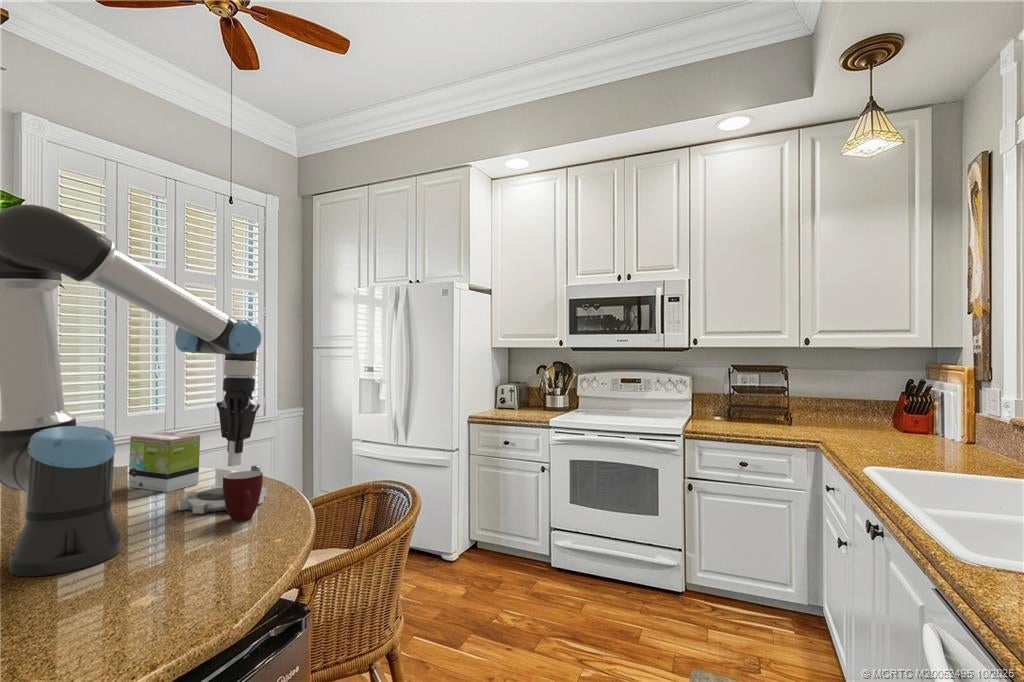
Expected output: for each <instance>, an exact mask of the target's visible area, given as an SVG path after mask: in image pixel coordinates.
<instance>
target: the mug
mask: <svg viewBox="0 0 1024 682" xmlns="http://www.w3.org/2000/svg"><path fill="white" fill-rule="evenodd" d="M263 477H264V474H263V472H262V471H260V472H259V471H251V470H244V471H235V472H230V473H226V474H225V475H223V478H222V486H223V494H224V500H225V506H226V510H227V511H226V510H225V511H226V512H227V514H228V516H229V517H230V519H231V520H232V521H233V522H242V521H243V522H244V521H248V520H250V519H252V517H253V515H254V514H255V512H256V510H257V508H258V507H259V504H260V503H259V499H260V494H261V489H262V487H263V483H264V479H263ZM258 503H259V504H258Z"/></svg>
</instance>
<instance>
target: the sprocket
mask: <svg viewBox="0 0 1024 682" xmlns="http://www.w3.org/2000/svg"><path fill="white" fill-rule="evenodd" d="M250 471H259V472H261V465H251V466H250ZM267 494H268V488H267V487H265V486H262V489H261V494H260V499H259V503H258V505H260V504H261V503H263V502H265V497H267ZM177 502H178V504H177V505H178V506H177V507H178V510H179V511H185V510H189V511H192V514H202V515H203V514H205V513H208V512H221V511H226V512H227V510H226V506H225V500H224V494H223V485H216V486H212V487H210V488H207V489H203V490H199V491H190V492H187V493H185V494H184V498H182V499H180V498H179V499H178V500H177Z"/></svg>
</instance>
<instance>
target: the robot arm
mask: <svg viewBox="0 0 1024 682" xmlns="http://www.w3.org/2000/svg"><path fill="white" fill-rule="evenodd" d="M62 275H64V276H66V277H69V278H70V279H72V280H74V281H76V282H78V283H83V282H90V283H93V284H94V285H96V286H98V287H100V288H103V289H104V290H106V291H108V292H110V293H112V294H114V295H115V296H117V297H120V298H122V299H123V300H126V301H127V302H130V303H131V304H133V305H135V306H137V307H139V308H141V309H142V310H145V311H147V312H149V313H151V314H153V315H155V316H157V317H159V318H160V319H163V320H164V321H166V322H169V323H171V324H172V325H175V326H176V327H177V329H176V331H175V336H174V337H175V338H174V341H175V345H176V348H177V349H178V350H179V351H180V352H183V353H191V354H213V355H215V354H216V355H224V365H223V368H224V369H223V376H226V377H224V378H223V379H222V380H223V382H222V391H223V392H225V395H224V396H223V400H221V401H217V402H216V404H215V405H216V406H217V410H218V414H219V415H218V416H219V423H220V424H219V425H220V433H221V437H222V438H223V439H226V440H227V448H226V450H227V453H228V455H227V467H236V466H241V465H242V453H243V450H244V441H245V440H247V439H250V437H251V436H252V435H251V434H252V431H253V427H254V423H255V419H256V416H257V415H256V414H257V412H258V410H259V408H260V406H261V405H260V403H256V402H255V401H254V399H253V398H254V397H253V395H252V394H253V392H254V391H255V388H256V379H255V378H254V377H255V376H256V370H257V356H258V354H257V353H258V348H259V347H260V345H261V342H262V332H261V330H260V328H259V325H258V323H257V322H256V321H253V320H248V319H236V318H234V317H232V316H230V315H228V314H226V313H224V312H223V311H221V310H219V309H217V308H216V307H214V306H212V305H211V304H209V303H207V302H206V301H204V300H202V299H200V298H199V297H197V296H196V295H194V294H192V293H190V292H188V291H187V290H185V289H183V288H182V287H180V286H178V285H177V284H175V283H173V282H172V281H170V280H168V279H167V278H165V277H163V276H162V275H160V274H158V273H156V272H154V271H153V270H151V269H149V268H148V267H146V266H145V265H143V264H141V263H139V262H137V261H136V260H134V259H133V258H131V257H129V256H127V255H126V254H124V253H123V252H120V251H119V250H117V249H116V247H115V244H114V241H113V240H111V239H109V238H107V237H105V236H104V235H102V234H101V233H99V232H97V231H95V230H94V229H92V228H90V227H89V226H87V225H85V224H83V223H82V222H80V221H78V220H76V219H75V218H73V217H71V216H69V215H66V214H65V213H63V212H60V211H58V210H56V209H52V208H50V207H46V206H43V205H42V206H41V205H35V204H17V205H12V206H10V207H7V208H4V209H2V210H0V398H1V407H2V414H3V415H2V416H3V417H2V418H1V420H0V484H1V485H2V486H4V487H7V488H10V489H12V490H15V491H20V492H21V491H22V492H24V493H26V502H25V503H26V504H25V505H26V506H25V508H26V509H25V522H24V526H23V528H22V530H21V532H20V535H19V537H18V539H17V543H16V545H15V547H14V548H15V549H14V550H13V551H12V552H11V553H10V556H9V560H8V573H9V574H11V575H13V576H18V577H40V576H41V577H42V576H43V577H44V576H51V575H56V574H57V575H58V574H63V573H68V572H73V571H76V570H81V569H84V568H87V567H91V566H94V565H97V564H100V563H103V562H104V561H107V560H110V559H111V558H113V557H115V556H117V554H118V555H119V553H120V552H121V551H122V543H123V540H122V538H123V537H122V535H121V533H120V532H119V531H118V526H117V522H116V520H115V517H114V514H113V510H112V503H113V502H112V499H113V498H112V497H113V485H114V484H113V481H114V464H115V453H116V446H115V438H114V435H113V433H112V432H111V431H110V430H108V429H105V428H103V427H102V428H101V427H98V426H87V425H86V426H85V425H77V419H76V416H75V415H74V414H73V413H70V412H68V411H67V410H66V409H65V401H64V390H63V380H62V371H61V363H60V352H59V351H60V349H59V339H58V332H57V322H56V313H55V311H56V310H55V302H54V294H53V293H54V290H56V289H57V288H58V287H59V286H60V285H62V283H63V281H62V280H63V279H62Z"/></svg>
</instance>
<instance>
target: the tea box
mask: <svg viewBox="0 0 1024 682" xmlns="http://www.w3.org/2000/svg"><path fill="white" fill-rule="evenodd" d="M129 442H130V443H129V467H128V469H129V470H128V488H135V489H142V490H143V489H144V490H148V491H149V490H150V491H154V490H155V491H156V492H160V491H162V493H166V492H167V493H170V492H169V491H171V492H174V491H173V490H175V491H178V490H177V489H179V490H182V489H185V488H184V487H186V488H189V487H188V486H190V487H192V486H191V485H193V486H196V485H198V484H199V479H200V478H199V476H200V475H199V472H200V453H201V449H200V447H201V434H195V433H193V434H192V433H184V432H183V433H181V432H171V431H159V432H150V433H145V434H139V435H133V436H132V435H131V436H130V439H129ZM195 484H196V485H195ZM181 488H182V489H181Z"/></svg>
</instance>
